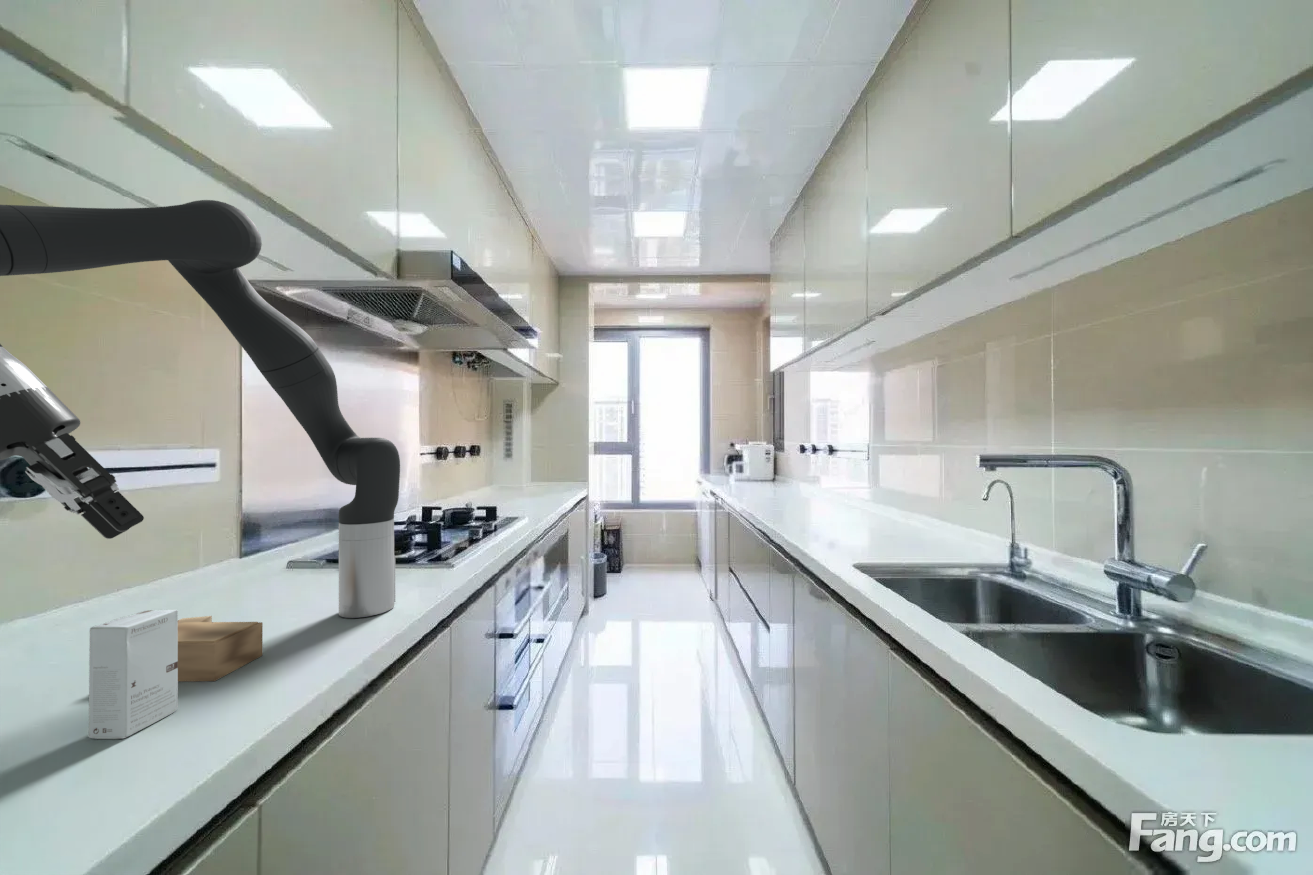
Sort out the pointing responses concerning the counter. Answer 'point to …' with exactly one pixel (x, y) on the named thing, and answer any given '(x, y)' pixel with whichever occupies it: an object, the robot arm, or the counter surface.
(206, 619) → the block
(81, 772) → the counter surface
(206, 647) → the block
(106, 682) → the skincare box
